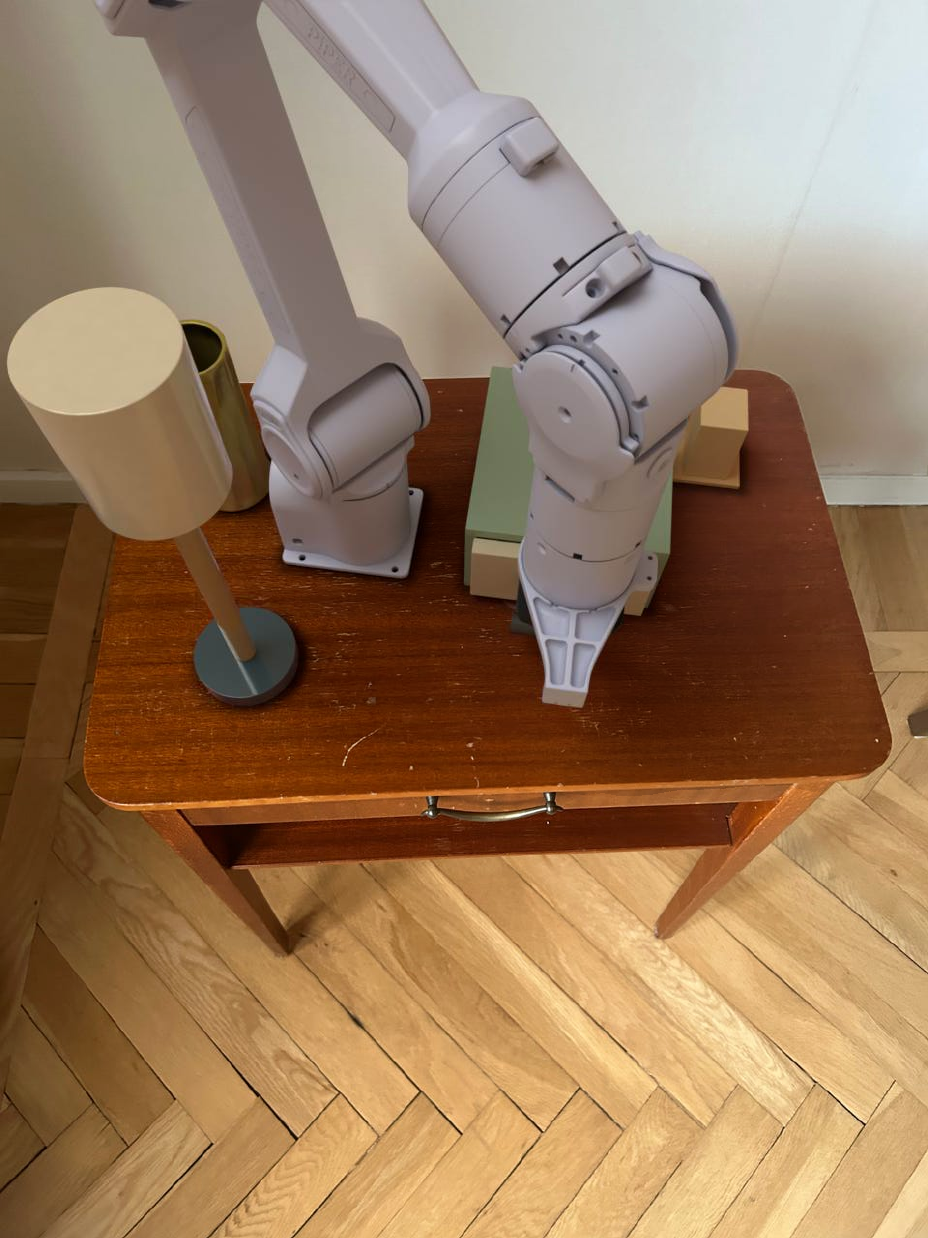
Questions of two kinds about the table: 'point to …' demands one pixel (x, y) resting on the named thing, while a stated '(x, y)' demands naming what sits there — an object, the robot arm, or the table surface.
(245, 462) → the vase
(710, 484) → the pad
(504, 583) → the drawer
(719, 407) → the tan wooden block
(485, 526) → the cabinet
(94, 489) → the lamp
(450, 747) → the table surface
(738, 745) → the table surface
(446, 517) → the table surface
